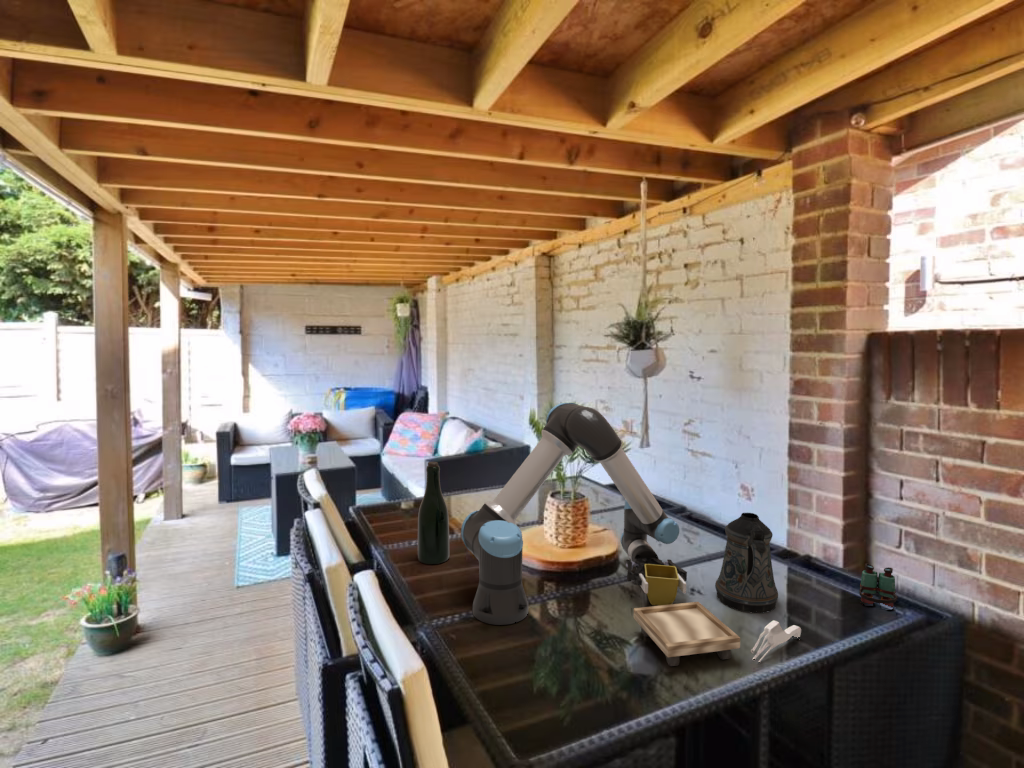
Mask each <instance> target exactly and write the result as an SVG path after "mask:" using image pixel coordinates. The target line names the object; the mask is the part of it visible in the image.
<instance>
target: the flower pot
mask: <svg viewBox="0 0 1024 768" xmlns="http://www.w3.org/2000/svg"><path fill="white" fill-rule="evenodd" d="M644 566H645V574H644V578H645V580H646V582H647V583H648V593H646V595H647V596H646V597H647V599H648V601H649V603H650V605H652V606H662V605H671V604H674V602H675V600H676V597H677V594H678V589H679V587H678V583H679V577H678V573H677V569H676V567H675V566H665V565H654V564H645V565H644Z"/></svg>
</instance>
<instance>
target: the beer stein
mask: <svg viewBox="0 0 1024 768" xmlns="http://www.w3.org/2000/svg"><path fill="white" fill-rule="evenodd" d="M724 531H725V535H726V542H725V543H726V545H725V547H724V553H723V560H722V564H721V569H720V572H719V575H718V578H717V579H716V581H715V585H714V587H715V590H716V591H715V592H716V597H717V599H718V600H719V602H720V603H722V604H723V605H725V606H726V607H728V608H731V609H734V610H736V611H740V612H745V613H750V612H752V614H764V613H768V612H767V611H769V612H772V611H773V610H774V609H775V608H776V606H777V602H778V599H779V592H778V588H777V586H776V583H775V576H774V572H773V564H772V554H771V547H770V546H771V545H770V544H771V542H772V538H773V532H772V531H771V529H770V527H768V525H767V524H765V523H764V522H763V521H762V520H761V519H760V517H759V516H758V514H756V513H753V512H742V513H741V515H740V516H738V518H736V519H733V520H731V521H730V522H728V523H727V524H726V526H725V528H724ZM772 609H773V610H772ZM771 610H772V611H771ZM763 612H764V613H763Z"/></svg>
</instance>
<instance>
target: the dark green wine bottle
mask: <svg viewBox="0 0 1024 768" xmlns="http://www.w3.org/2000/svg"><path fill="white" fill-rule="evenodd" d="M425 470H426V483H425V484H426V486H425V490H424V493H423V497H422V500H421V503H420V504H419V505H420V506H419V509H418V517H417V559H418V561H419V562H421V563H423V564H426V565H439V564H442V563H445V562H446V561H448V559H449V558H450V524H449V523H450V522H449V521H450V520H449V519H450V518H449V511H448V510H449V509H448V507H447V502H446V501H445V498H444V496H443V492H442V489H441V482H440V481H441V480H440V470H441V468H440V465H439V462H438V461H429V462H428V463H427V466H426V469H425Z"/></svg>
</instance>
